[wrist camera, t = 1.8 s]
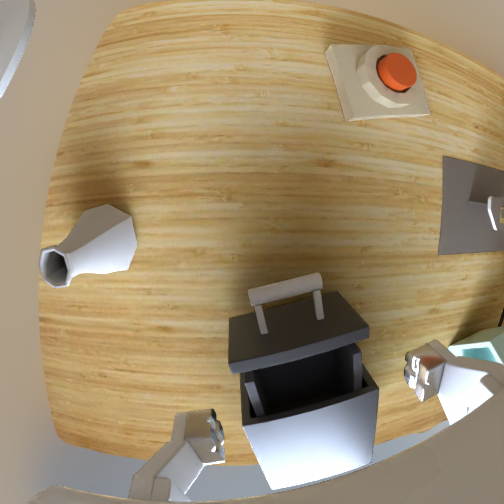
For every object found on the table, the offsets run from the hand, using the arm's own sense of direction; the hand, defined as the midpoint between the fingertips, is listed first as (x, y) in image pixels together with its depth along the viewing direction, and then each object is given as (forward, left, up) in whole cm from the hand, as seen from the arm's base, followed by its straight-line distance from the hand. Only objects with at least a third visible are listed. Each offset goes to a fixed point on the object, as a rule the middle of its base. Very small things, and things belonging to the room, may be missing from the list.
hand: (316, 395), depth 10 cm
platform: (+31, 0, -19) cm, 36 cm away
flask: (-15, +6, -19) cm, 25 cm away
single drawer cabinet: (+1, -18, -19) cm, 26 cm away
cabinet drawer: (+1, -9, -18) cm, 20 cm away
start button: (+16, +16, -15) cm, 27 cm away
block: (+16, +16, -19) cm, 29 cm away
